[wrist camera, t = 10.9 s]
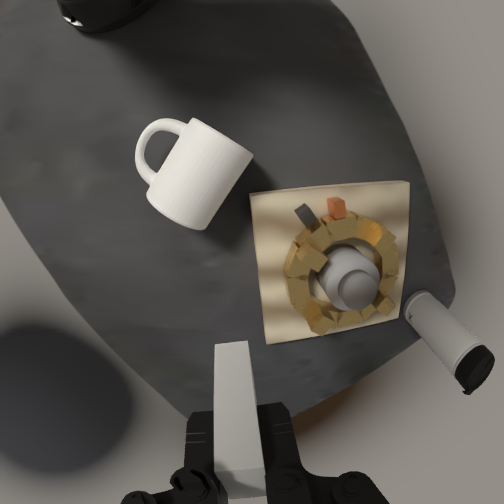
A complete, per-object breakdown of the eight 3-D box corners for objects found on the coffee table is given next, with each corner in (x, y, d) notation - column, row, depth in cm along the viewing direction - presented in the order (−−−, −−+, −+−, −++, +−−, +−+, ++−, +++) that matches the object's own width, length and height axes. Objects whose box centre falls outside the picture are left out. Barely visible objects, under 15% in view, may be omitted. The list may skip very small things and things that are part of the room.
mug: (251, 153, 35) (257, 156, 28) (207, 219, 38) (203, 239, 31) (169, 104, 32) (154, 94, 25) (129, 172, 35) (105, 180, 27)
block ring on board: (248, 193, 37) (256, 210, 28) (402, 180, 38) (442, 193, 29) (265, 336, 45) (273, 379, 36) (392, 311, 46) (420, 344, 37)
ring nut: (293, 329, 42) (301, 350, 37) (270, 210, 36) (277, 222, 31) (389, 301, 42) (405, 318, 37) (385, 186, 36) (406, 194, 31)
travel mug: (394, 315, 46) (457, 394, 28) (416, 284, 45) (490, 354, 26) (415, 325, 48) (474, 397, 29) (435, 296, 46) (503, 361, 27)
